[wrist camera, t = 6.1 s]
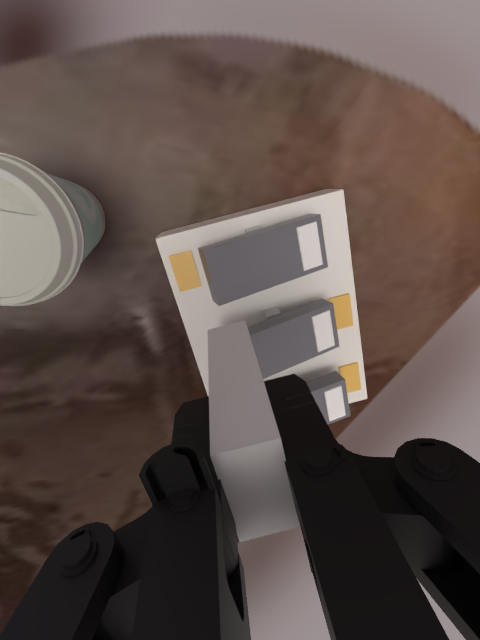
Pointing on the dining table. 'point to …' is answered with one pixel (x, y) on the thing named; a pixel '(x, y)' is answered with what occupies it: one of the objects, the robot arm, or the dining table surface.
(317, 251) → the switch
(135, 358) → the dining table surface
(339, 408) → the switch
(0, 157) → the coffee cup
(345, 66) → the dining table surface
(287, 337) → the switch
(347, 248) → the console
